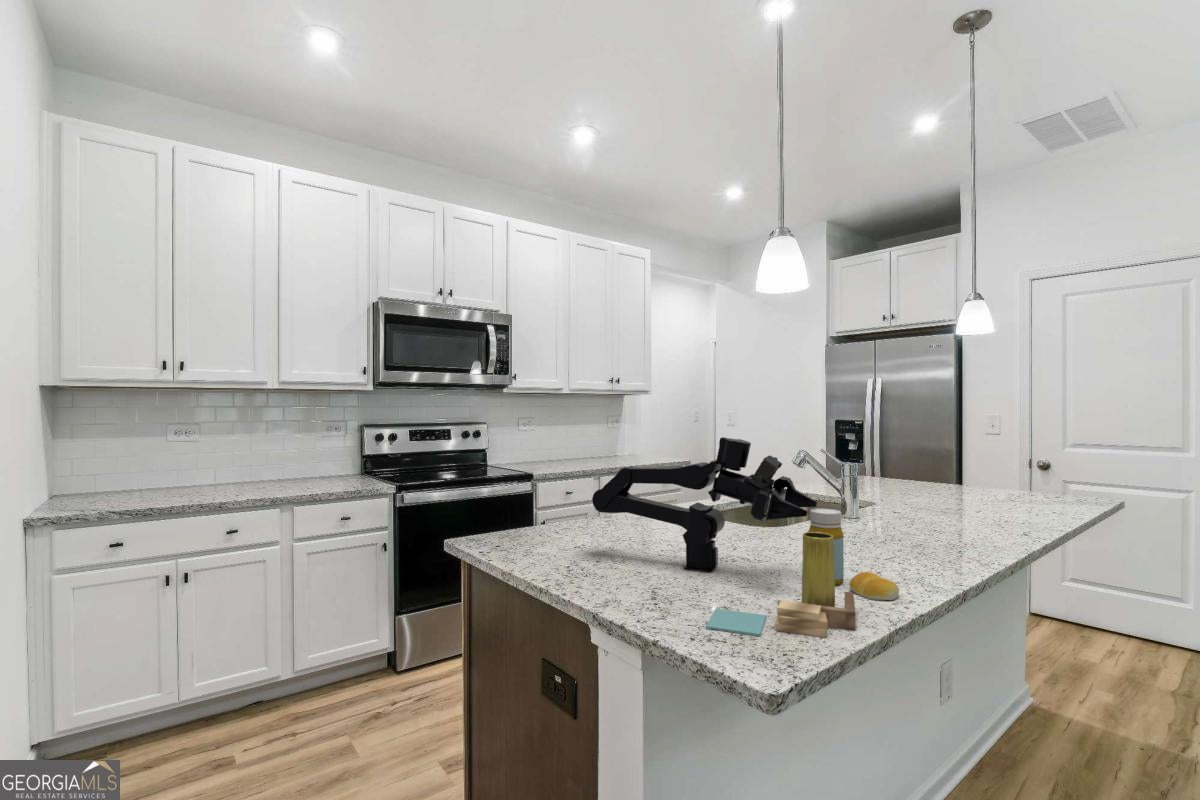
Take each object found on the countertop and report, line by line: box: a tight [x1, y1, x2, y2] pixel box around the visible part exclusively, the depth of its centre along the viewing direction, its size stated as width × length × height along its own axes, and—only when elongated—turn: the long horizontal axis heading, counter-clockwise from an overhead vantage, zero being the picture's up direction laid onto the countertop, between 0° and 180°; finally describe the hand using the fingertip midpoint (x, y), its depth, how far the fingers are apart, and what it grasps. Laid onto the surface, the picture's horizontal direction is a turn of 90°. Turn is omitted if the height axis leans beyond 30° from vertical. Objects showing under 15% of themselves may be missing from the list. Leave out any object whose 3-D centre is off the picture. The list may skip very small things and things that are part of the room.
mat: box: [705, 608, 767, 637], centre depth 101 cm, size 9×9×1 cm
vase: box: [800, 531, 836, 607], centre depth 105 cm, size 6×6×14 cm
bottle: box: [807, 507, 845, 586], centre depth 124 cm, size 7×7×15 cm
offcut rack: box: [774, 591, 856, 638], centre depth 102 cm, size 12×16×4 cm
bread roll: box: [849, 571, 900, 601], centre depth 116 cm, size 8×9×4 cm
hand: (812, 509), depth 122 cm, fingers open, 9 cm apart
